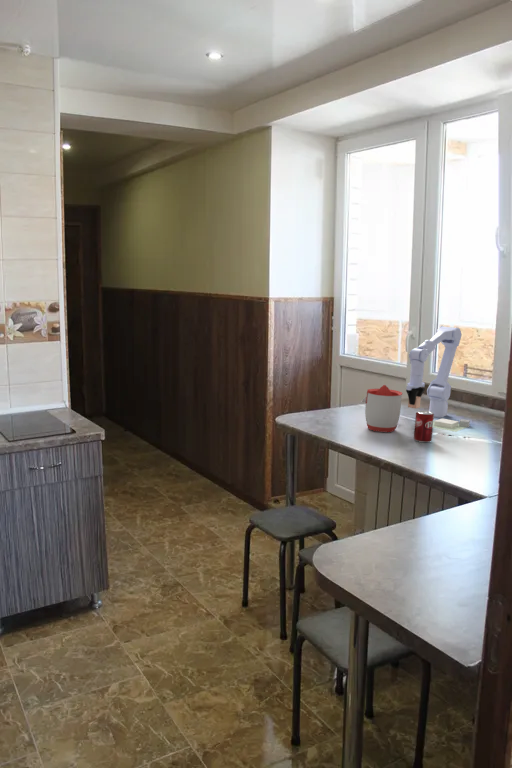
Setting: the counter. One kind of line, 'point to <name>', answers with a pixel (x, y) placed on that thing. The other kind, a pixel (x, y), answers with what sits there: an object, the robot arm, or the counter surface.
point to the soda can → (423, 426)
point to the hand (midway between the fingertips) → (414, 403)
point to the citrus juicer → (382, 409)
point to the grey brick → (464, 423)
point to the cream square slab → (446, 423)
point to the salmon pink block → (417, 403)
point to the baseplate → (450, 428)
